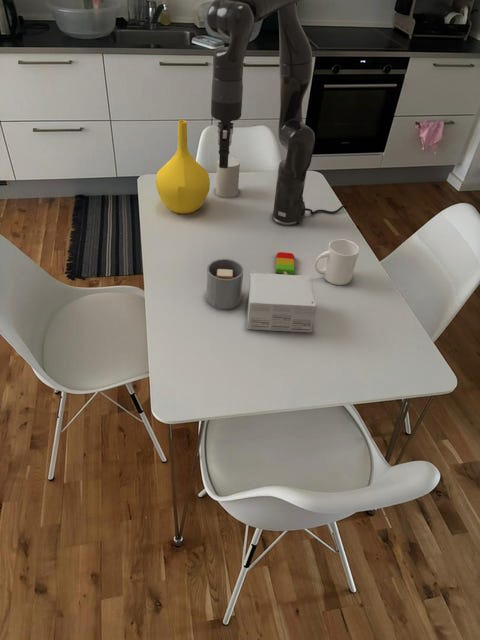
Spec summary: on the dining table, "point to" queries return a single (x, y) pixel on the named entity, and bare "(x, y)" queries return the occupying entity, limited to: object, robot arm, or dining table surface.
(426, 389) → the dining table surface
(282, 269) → the popsicle
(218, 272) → the juice carton
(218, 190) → the cup
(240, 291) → the steel cup
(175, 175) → the vase
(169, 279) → the dining table surface
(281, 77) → the robot arm
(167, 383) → the dining table surface
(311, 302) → the supplement box
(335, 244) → the mug
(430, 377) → the dining table surface
